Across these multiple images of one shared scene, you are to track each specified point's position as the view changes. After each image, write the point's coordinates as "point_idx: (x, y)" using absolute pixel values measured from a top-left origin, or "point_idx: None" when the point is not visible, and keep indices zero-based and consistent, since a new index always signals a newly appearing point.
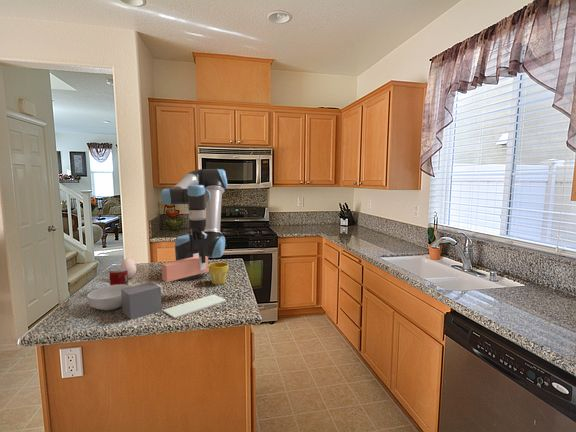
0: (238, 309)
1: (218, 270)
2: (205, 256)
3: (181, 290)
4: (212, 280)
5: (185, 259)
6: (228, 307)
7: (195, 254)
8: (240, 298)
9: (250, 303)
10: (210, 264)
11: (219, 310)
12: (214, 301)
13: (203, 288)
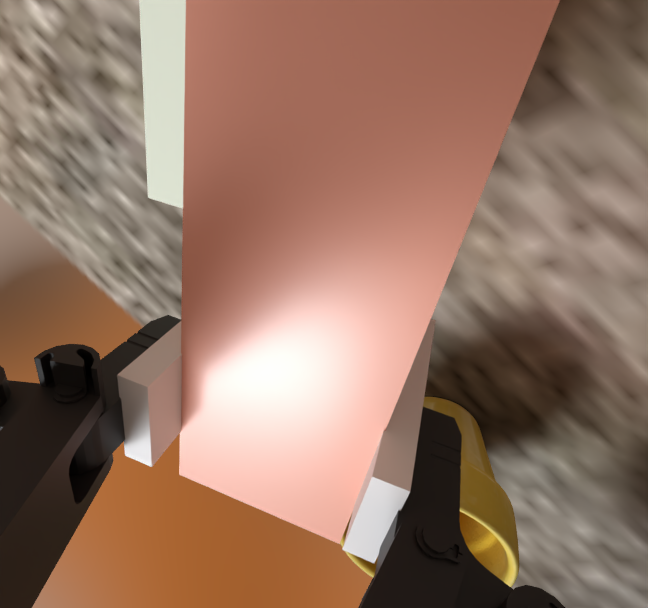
0: (20, 132)
1: None
2: (229, 485)
3: (621, 206)
4: (449, 415)
5: (383, 196)
6: (72, 124)
7: (362, 494)
8: (136, 266)
9: (52, 232)
10: (507, 558)
11: (65, 51)
12: (177, 136)
13: (455, 314)
